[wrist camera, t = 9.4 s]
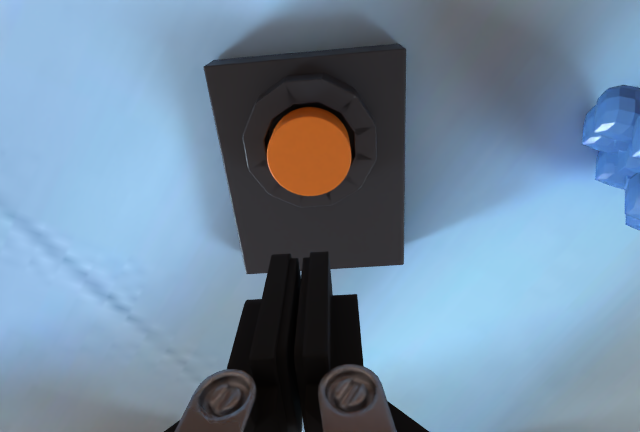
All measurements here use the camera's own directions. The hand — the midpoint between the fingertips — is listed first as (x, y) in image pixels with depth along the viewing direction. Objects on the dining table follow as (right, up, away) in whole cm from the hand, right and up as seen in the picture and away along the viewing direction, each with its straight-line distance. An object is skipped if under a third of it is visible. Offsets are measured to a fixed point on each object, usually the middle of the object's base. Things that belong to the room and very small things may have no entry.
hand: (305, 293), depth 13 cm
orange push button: (0, +6, +11) cm, 13 cm away
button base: (0, +6, +15) cm, 16 cm away
